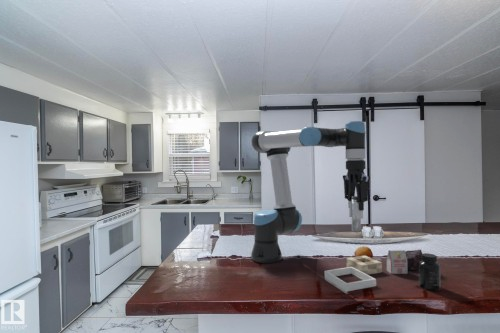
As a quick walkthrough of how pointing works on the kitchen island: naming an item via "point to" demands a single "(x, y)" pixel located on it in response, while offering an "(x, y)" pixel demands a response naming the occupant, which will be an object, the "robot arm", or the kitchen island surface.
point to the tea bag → (397, 262)
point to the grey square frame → (343, 286)
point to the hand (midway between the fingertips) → (356, 217)
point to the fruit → (363, 252)
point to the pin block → (365, 264)
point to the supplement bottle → (429, 272)
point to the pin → (355, 222)
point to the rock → (413, 259)
